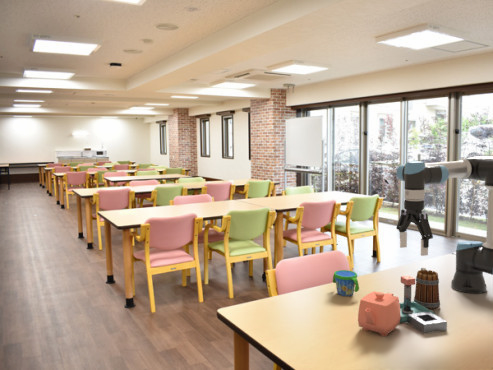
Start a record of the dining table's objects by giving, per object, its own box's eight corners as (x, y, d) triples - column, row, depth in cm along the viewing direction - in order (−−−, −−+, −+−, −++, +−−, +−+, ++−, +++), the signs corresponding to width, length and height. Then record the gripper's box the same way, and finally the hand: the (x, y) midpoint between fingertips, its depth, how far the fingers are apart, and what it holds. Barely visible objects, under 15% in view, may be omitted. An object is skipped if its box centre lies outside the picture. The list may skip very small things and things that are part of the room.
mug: (442, 311, 174) (443, 276, 172) (416, 309, 176) (417, 275, 175) (433, 298, 189) (434, 266, 188) (409, 296, 191) (410, 265, 190)
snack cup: (365, 297, 191) (365, 276, 190) (346, 301, 187) (346, 279, 186) (344, 287, 205) (344, 267, 204) (326, 290, 201) (326, 270, 200)
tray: (413, 306, 179) (413, 301, 179) (434, 318, 167) (434, 312, 166) (381, 310, 175) (381, 305, 175) (399, 323, 163) (399, 317, 163)
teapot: (382, 345, 145) (383, 306, 144) (349, 334, 154) (350, 297, 152) (406, 324, 162) (406, 289, 160) (375, 316, 170) (375, 282, 169)
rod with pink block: (399, 311, 172) (400, 276, 171) (408, 310, 174) (409, 275, 172) (406, 315, 168) (406, 279, 167) (415, 314, 169) (416, 278, 168)
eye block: (428, 319, 166) (429, 311, 165) (446, 330, 156) (446, 321, 156) (407, 322, 163) (407, 314, 163) (423, 333, 153) (424, 324, 153)
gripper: (388, 196, 177) (387, 244, 179) (426, 204, 153) (425, 259, 155) (403, 195, 179) (403, 243, 181) (443, 203, 155) (442, 258, 157)
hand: (413, 251), depth 168 cm, fingers open, 13 cm apart
